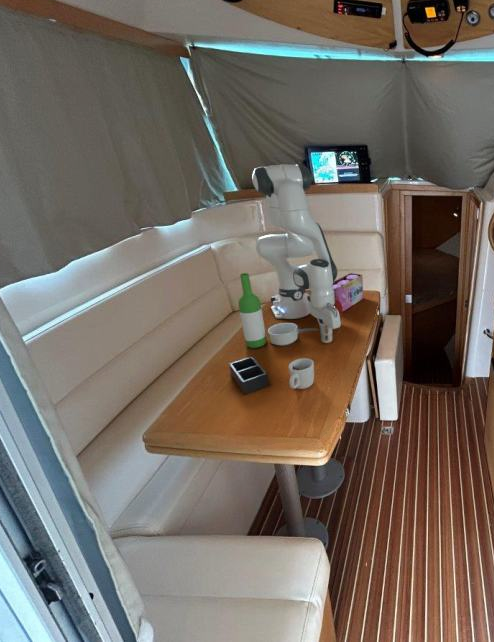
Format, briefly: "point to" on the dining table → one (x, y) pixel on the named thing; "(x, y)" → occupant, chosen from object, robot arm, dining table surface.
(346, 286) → the gum box
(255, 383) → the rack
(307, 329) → the saucepan
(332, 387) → the dining table surface
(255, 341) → the bottle
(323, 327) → the beer can
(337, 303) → the apple
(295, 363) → the cup
